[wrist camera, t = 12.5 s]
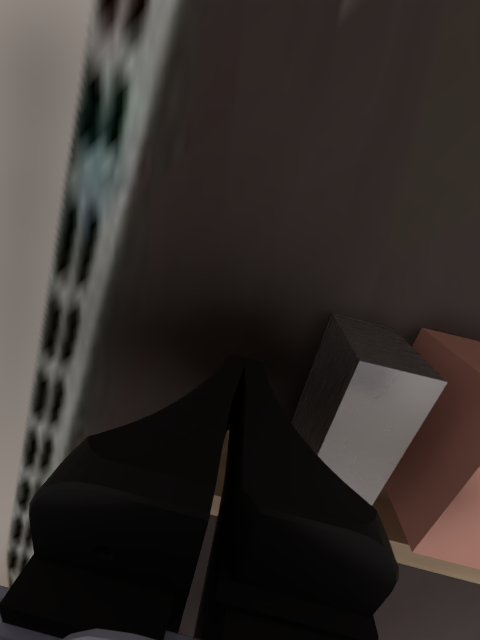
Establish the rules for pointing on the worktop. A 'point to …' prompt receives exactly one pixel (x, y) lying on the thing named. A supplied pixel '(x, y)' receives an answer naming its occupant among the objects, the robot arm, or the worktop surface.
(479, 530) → the pink rectangular block
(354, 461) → the grey rectangular block
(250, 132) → the worktop surface
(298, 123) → the worktop surface
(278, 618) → the robot arm
